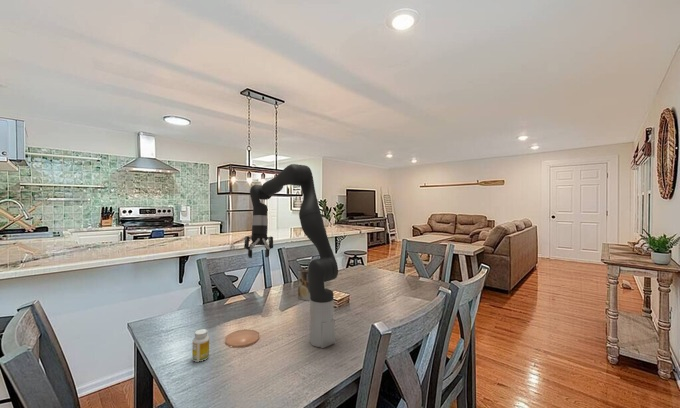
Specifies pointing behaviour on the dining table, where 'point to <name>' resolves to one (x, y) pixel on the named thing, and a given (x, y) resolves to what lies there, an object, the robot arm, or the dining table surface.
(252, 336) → the terracotta saucer
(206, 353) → the supplement bottle
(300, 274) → the coffee box
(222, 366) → the dining table surface
